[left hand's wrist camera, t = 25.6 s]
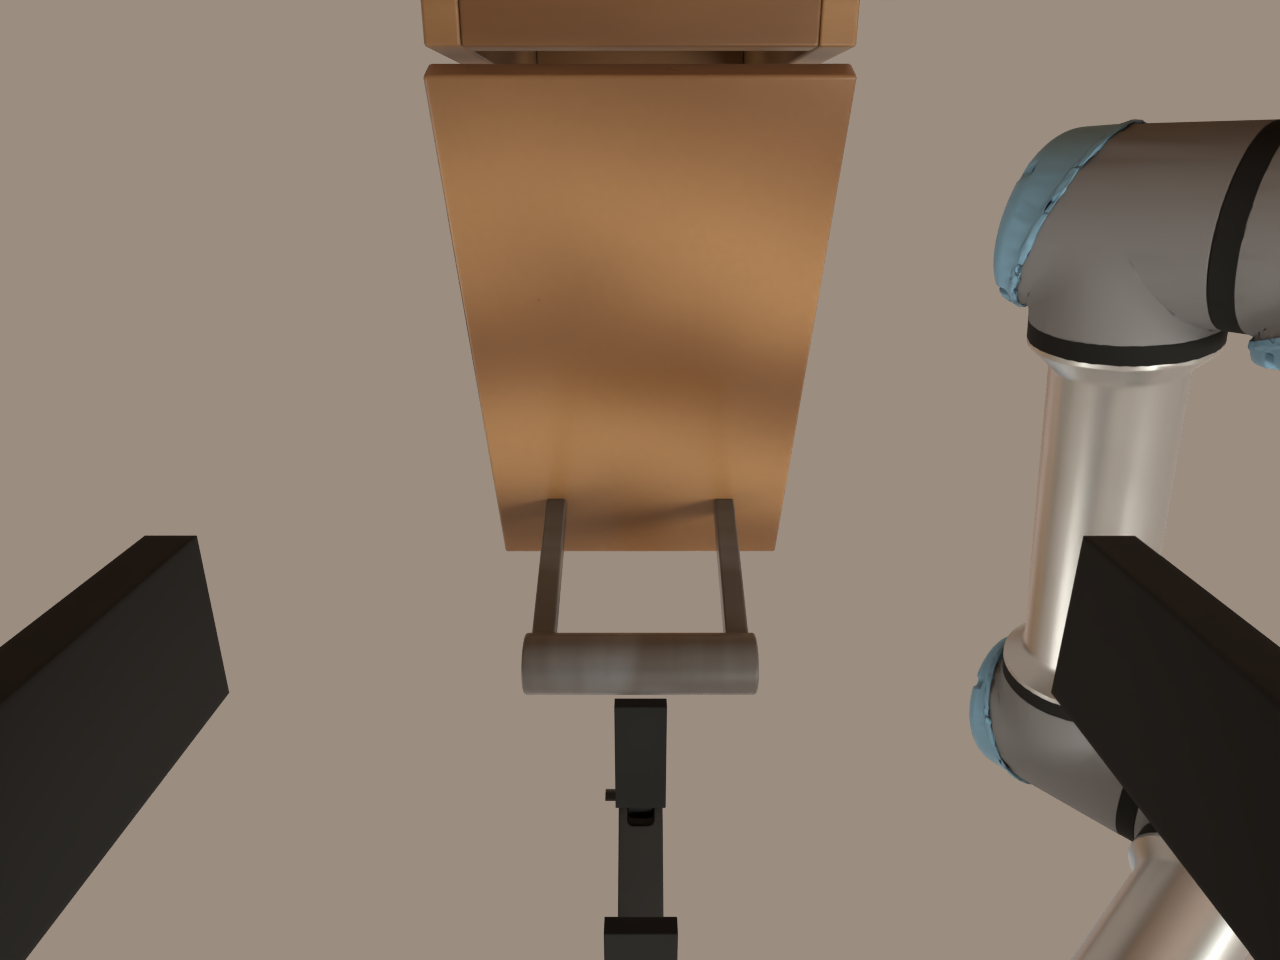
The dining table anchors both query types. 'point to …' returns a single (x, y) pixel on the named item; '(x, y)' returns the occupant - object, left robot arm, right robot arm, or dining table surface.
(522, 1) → the chest
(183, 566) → the left robot arm
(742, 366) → the lid
